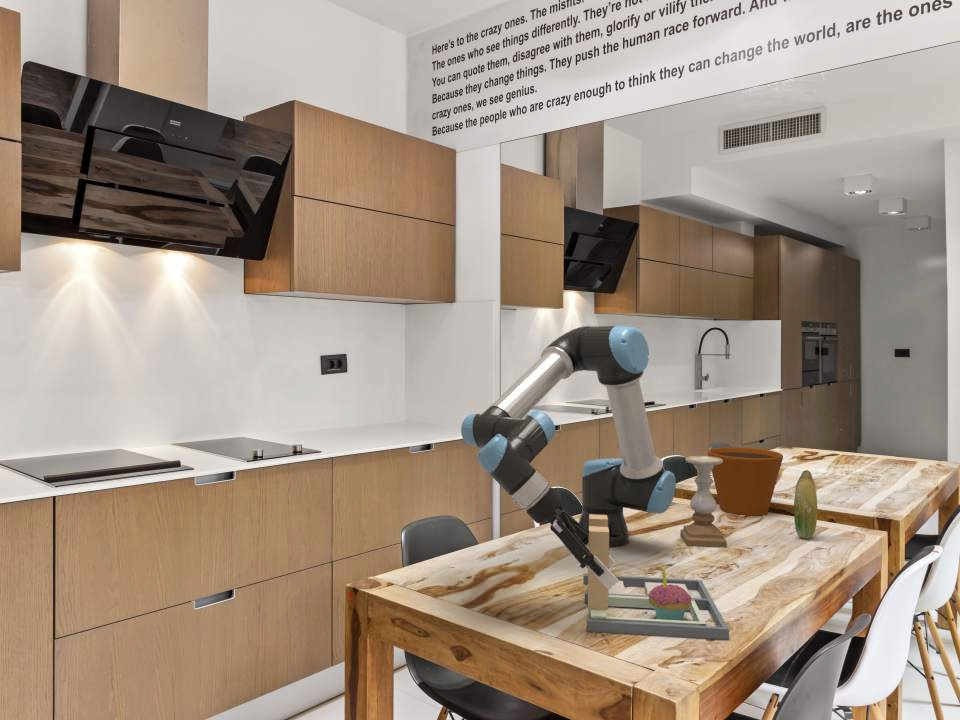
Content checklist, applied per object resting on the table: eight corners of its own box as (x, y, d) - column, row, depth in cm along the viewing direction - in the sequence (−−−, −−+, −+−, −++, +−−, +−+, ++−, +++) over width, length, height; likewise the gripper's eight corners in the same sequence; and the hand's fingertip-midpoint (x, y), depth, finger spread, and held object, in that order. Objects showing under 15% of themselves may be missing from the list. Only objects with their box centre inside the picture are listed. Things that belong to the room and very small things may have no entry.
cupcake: (667, 631, 138) (668, 571, 137) (639, 616, 145) (640, 559, 145) (700, 624, 142) (701, 565, 141) (670, 609, 149) (671, 553, 149)
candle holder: (717, 536, 206) (719, 455, 205) (727, 547, 195) (728, 462, 194) (679, 535, 207) (680, 454, 206) (686, 546, 196) (688, 461, 195)
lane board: (586, 631, 138) (586, 621, 138) (583, 582, 165) (583, 574, 165) (728, 639, 134) (729, 629, 134) (701, 588, 162) (701, 580, 162)
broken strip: (589, 599, 154) (590, 522, 153) (587, 584, 164) (588, 511, 163) (692, 605, 151) (693, 526, 151) (684, 589, 161) (685, 514, 161)
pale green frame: (588, 627, 139) (590, 537, 139) (587, 603, 152) (588, 520, 152) (705, 634, 136) (707, 542, 136) (693, 608, 149) (695, 524, 149)
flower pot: (792, 511, 238) (793, 452, 237) (766, 524, 220) (767, 461, 220) (723, 500, 254) (724, 445, 253) (694, 511, 236) (695, 452, 236)
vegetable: (821, 540, 202) (823, 471, 202) (805, 542, 200) (806, 473, 199) (805, 535, 208) (806, 468, 207) (788, 537, 206) (790, 469, 205)
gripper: (527, 497, 158) (596, 568, 157) (520, 524, 135) (601, 608, 133) (551, 475, 158) (620, 546, 156) (548, 498, 134) (629, 582, 133)
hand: (611, 574), depth 145 cm, fingers open, 11 cm apart
